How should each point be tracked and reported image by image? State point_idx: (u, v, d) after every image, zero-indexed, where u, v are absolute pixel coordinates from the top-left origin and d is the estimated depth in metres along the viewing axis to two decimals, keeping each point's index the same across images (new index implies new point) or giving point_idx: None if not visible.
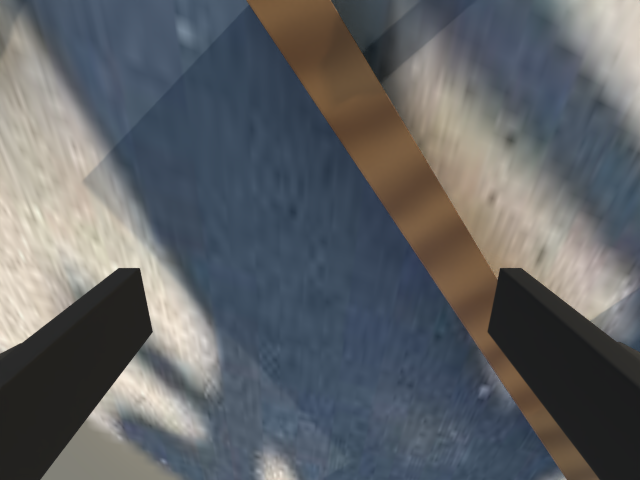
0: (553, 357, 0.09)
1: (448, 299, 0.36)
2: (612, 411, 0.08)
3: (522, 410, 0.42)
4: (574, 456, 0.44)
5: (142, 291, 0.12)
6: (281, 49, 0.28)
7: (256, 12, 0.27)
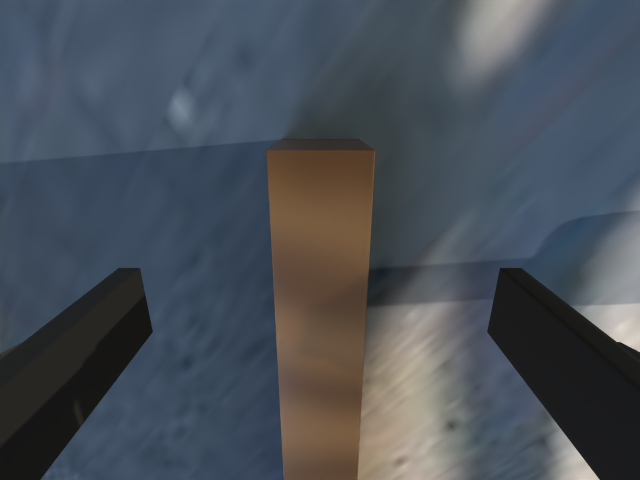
0: (553, 357, 0.09)
1: None
2: (612, 411, 0.08)
3: None
4: None
5: (142, 291, 0.12)
6: (274, 264, 0.19)
7: (271, 208, 0.18)
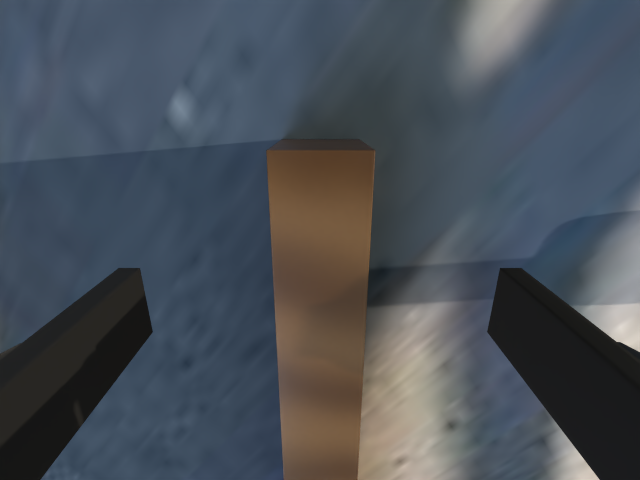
0: (553, 357, 0.09)
1: None
2: (612, 411, 0.08)
3: None
4: None
5: (142, 291, 0.12)
6: (274, 264, 0.19)
7: (271, 208, 0.18)
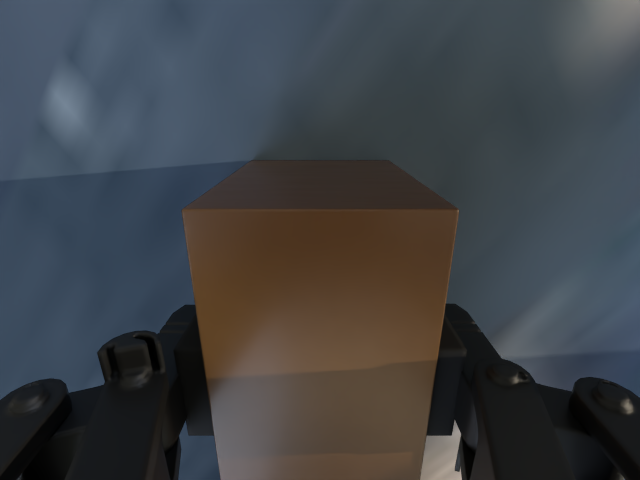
0: None
1: None
2: None
3: None
4: None
5: None
6: (220, 443, 0.09)
7: (204, 339, 0.08)
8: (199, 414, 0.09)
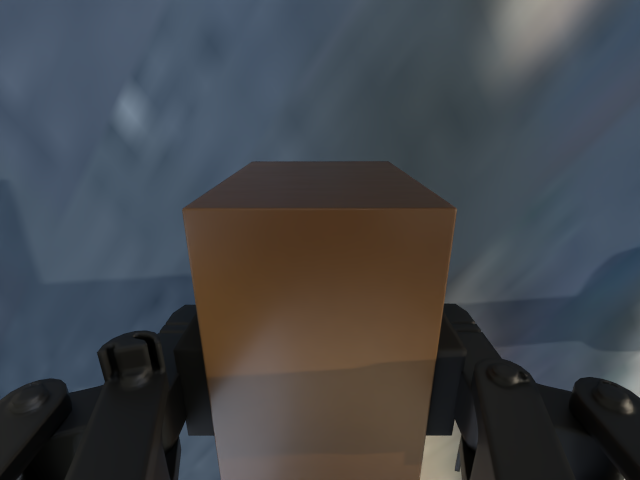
0: None
1: None
2: None
3: None
4: None
5: None
6: (220, 442, 0.09)
7: (204, 338, 0.08)
8: (199, 414, 0.09)
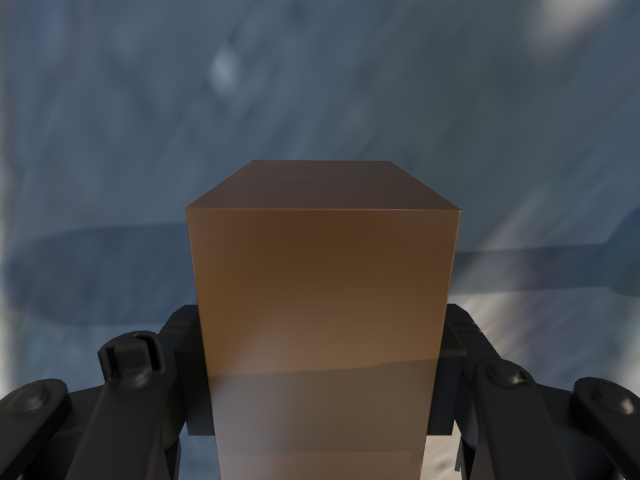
0: None
1: None
2: None
3: None
4: None
5: None
6: (220, 442, 0.09)
7: (206, 337, 0.08)
8: (199, 414, 0.09)
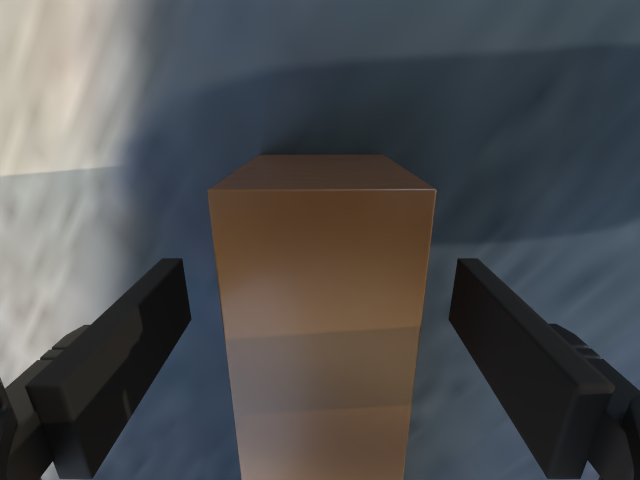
0: (495, 338, 0.10)
1: None
2: (535, 382, 0.08)
3: None
4: None
5: (183, 280, 0.13)
6: (235, 396, 0.10)
7: (223, 302, 0.09)
8: (68, 456, 0.08)
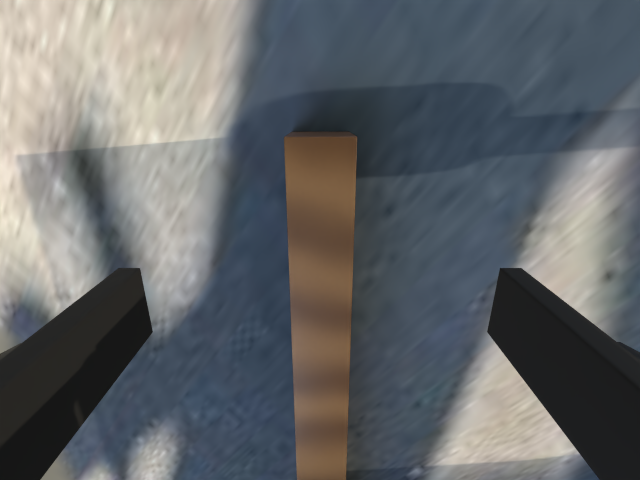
0: (553, 357, 0.09)
1: (298, 471, 0.37)
2: (612, 411, 0.08)
3: None
4: None
5: (141, 291, 0.12)
6: (288, 217, 0.27)
7: (287, 177, 0.26)
8: None
